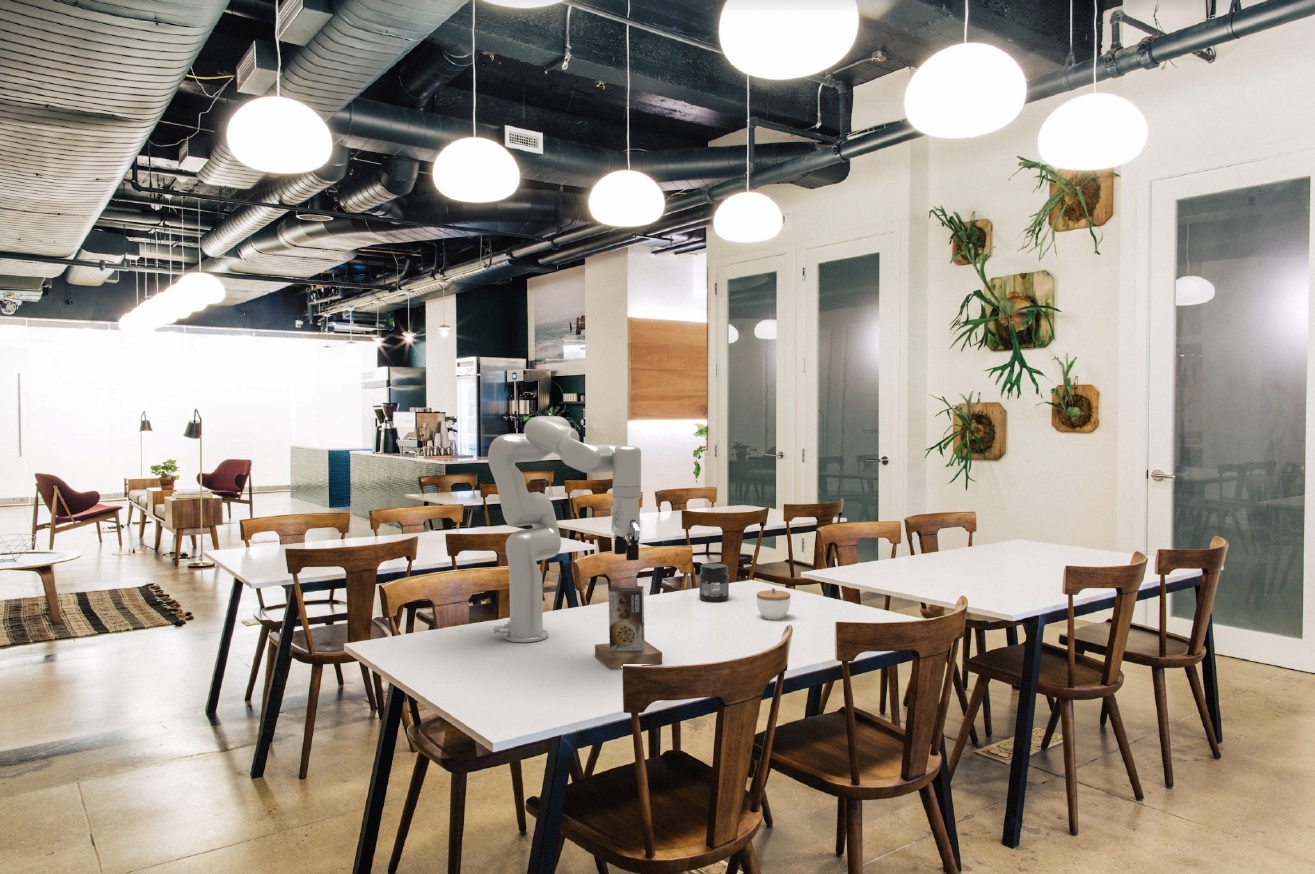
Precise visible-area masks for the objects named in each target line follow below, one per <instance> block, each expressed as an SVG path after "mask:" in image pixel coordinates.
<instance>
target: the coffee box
mask: <svg viewBox="0 0 1315 874" xmlns="http://www.w3.org/2000/svg"><path fill="white" fill-rule="evenodd" d="M644 592H645V591H644V586H643V585H632V586H631V585H622V586H621V585H619V586H618V585H617V586H614V585H613V586H610V588H609V590H608V593H607V594H608V620H609V622H608V623H609V625H608V628H609V629H608V631H609V632H608V634H609V637H608V638H609V639H608V640H609V643H610V649H609V651H643V650H644V647H645V641H646V640H645V602H644V599H645V595H644V594H645V593H644Z"/></svg>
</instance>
